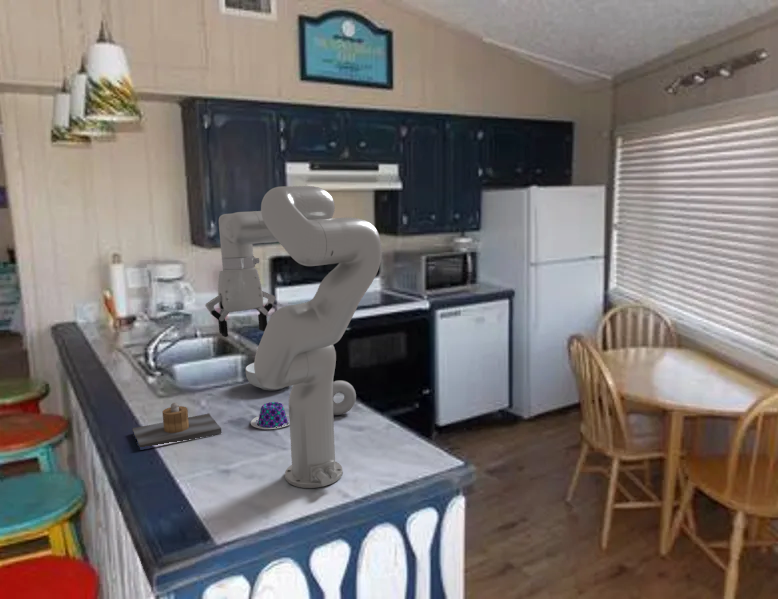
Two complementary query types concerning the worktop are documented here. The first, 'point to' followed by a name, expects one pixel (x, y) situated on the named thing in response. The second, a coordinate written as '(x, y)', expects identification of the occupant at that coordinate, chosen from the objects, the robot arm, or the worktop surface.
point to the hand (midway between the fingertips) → (244, 333)
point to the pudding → (271, 416)
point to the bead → (175, 420)
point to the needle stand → (196, 429)
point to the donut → (348, 397)
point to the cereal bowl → (254, 377)
